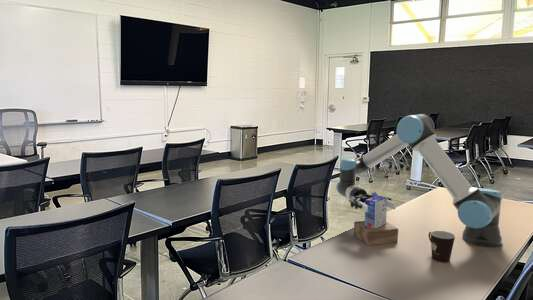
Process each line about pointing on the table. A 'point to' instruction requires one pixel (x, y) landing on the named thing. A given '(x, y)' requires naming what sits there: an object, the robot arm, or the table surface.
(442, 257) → the coffee mug
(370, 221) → the ink cartridge box
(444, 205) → the table surface
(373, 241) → the walnut plinth
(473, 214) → the robot arm
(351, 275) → the table surface
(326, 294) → the table surface
